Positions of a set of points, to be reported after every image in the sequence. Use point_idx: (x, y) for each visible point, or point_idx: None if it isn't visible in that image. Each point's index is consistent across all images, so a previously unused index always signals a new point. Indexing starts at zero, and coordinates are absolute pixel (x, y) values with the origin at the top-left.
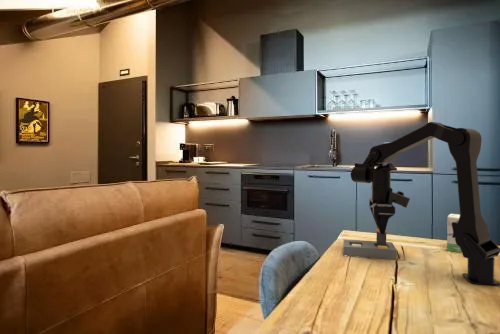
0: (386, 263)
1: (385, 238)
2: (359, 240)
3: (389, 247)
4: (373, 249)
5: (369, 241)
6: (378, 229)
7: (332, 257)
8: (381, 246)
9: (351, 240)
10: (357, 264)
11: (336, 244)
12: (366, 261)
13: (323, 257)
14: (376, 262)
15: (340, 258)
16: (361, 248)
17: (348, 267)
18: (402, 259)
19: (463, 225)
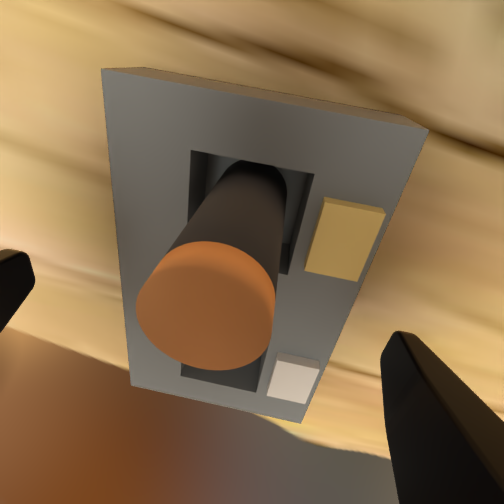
0: (480, 224)
1: (266, 224)
2: (128, 319)
3: (326, 172)
4: (351, 299)
5: (136, 267)
6: (247, 362)
7: (326, 416)
8: (343, 253)
9: (143, 358)
10: (455, 366)
11: (94, 355)
12: (411, 317)
13: (325, 438)
14: (442, 275)
15: (343, 397)
16: (328, 357)
17: (491, 406)
18: (405, 56)
19: None
